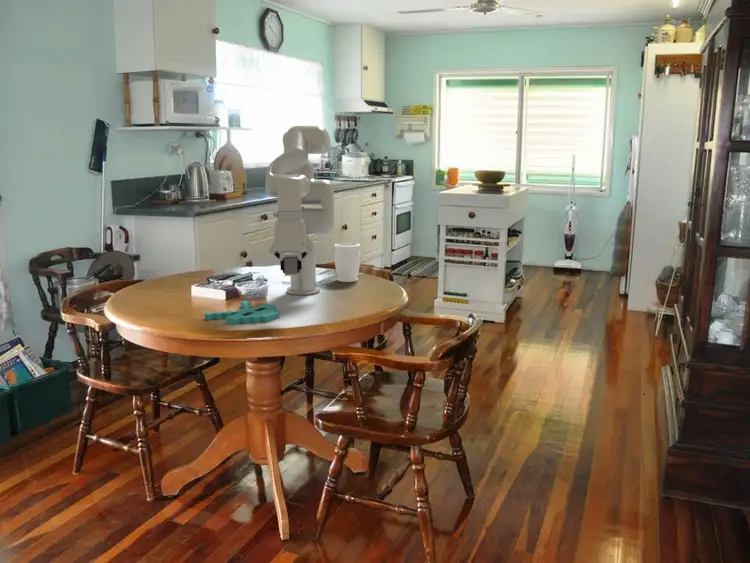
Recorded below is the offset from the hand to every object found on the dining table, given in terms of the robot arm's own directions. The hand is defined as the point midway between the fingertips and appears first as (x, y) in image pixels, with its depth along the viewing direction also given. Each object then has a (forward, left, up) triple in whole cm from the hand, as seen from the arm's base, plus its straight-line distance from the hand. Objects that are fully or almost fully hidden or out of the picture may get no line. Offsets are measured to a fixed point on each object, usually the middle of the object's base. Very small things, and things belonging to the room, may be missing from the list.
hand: (291, 271), depth 220 cm
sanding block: (0, 0, -1) cm, 1 cm away
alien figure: (-1, -14, -16) cm, 21 cm away
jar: (-56, +19, -15) cm, 61 cm away
